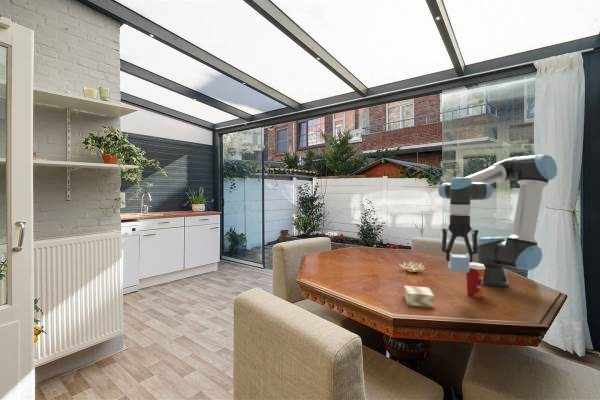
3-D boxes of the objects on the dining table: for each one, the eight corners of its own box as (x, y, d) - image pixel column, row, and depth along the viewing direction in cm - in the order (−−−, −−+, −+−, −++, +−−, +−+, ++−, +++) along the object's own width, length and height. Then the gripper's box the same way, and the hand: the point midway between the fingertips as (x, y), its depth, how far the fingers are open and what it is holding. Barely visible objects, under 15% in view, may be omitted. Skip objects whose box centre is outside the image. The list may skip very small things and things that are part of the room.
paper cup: (484, 299, 127) (485, 267, 127) (464, 295, 131) (465, 264, 131) (484, 294, 134) (485, 263, 133) (465, 290, 138) (466, 261, 137)
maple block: (428, 298, 128) (428, 287, 128) (433, 307, 118) (434, 295, 118) (404, 296, 130) (404, 285, 130) (407, 305, 120) (407, 293, 120)
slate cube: (464, 268, 127) (465, 254, 127) (468, 272, 121) (468, 258, 121) (449, 267, 129) (449, 254, 129) (452, 271, 123) (452, 257, 123)
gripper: (482, 214, 125) (481, 268, 126) (433, 213, 130) (432, 265, 131) (488, 215, 118) (487, 273, 119) (436, 214, 123) (435, 269, 124)
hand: (458, 269), depth 125 cm, fingers closed on slate cube, 6 cm apart
